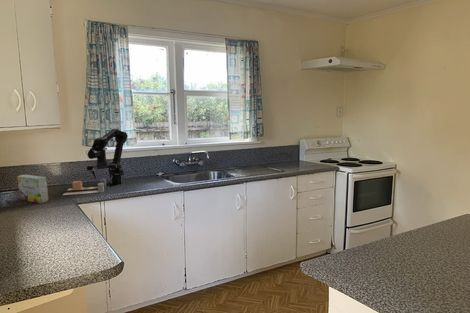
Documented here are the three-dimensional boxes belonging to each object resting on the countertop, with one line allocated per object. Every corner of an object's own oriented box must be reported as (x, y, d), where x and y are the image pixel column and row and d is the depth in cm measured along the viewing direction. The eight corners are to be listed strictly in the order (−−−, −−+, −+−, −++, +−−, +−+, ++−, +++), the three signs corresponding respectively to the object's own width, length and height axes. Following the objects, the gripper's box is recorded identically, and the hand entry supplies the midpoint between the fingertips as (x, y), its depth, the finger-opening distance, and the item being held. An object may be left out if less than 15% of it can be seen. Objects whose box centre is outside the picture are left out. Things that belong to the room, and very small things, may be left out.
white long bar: (104, 191, 220) (103, 182, 219) (103, 193, 214) (102, 184, 213) (64, 194, 214) (63, 185, 213) (62, 196, 208) (61, 187, 207)
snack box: (19, 200, 202) (16, 175, 200) (28, 197, 207) (25, 174, 205) (40, 203, 192) (37, 178, 190) (49, 201, 197) (47, 176, 195)
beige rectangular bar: (106, 187, 232) (105, 179, 232) (105, 188, 227) (104, 180, 226) (69, 189, 226) (68, 181, 225) (67, 191, 220) (66, 183, 220)
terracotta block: (82, 187, 228) (81, 180, 227) (81, 189, 223) (80, 182, 222) (74, 188, 226) (73, 181, 226) (72, 190, 222) (72, 182, 221)
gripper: (84, 159, 216) (86, 182, 218) (114, 157, 221) (116, 180, 223) (87, 157, 227) (89, 179, 229) (116, 155, 232) (117, 177, 234)
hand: (103, 179), depth 228 cm, fingers open, 9 cm apart
